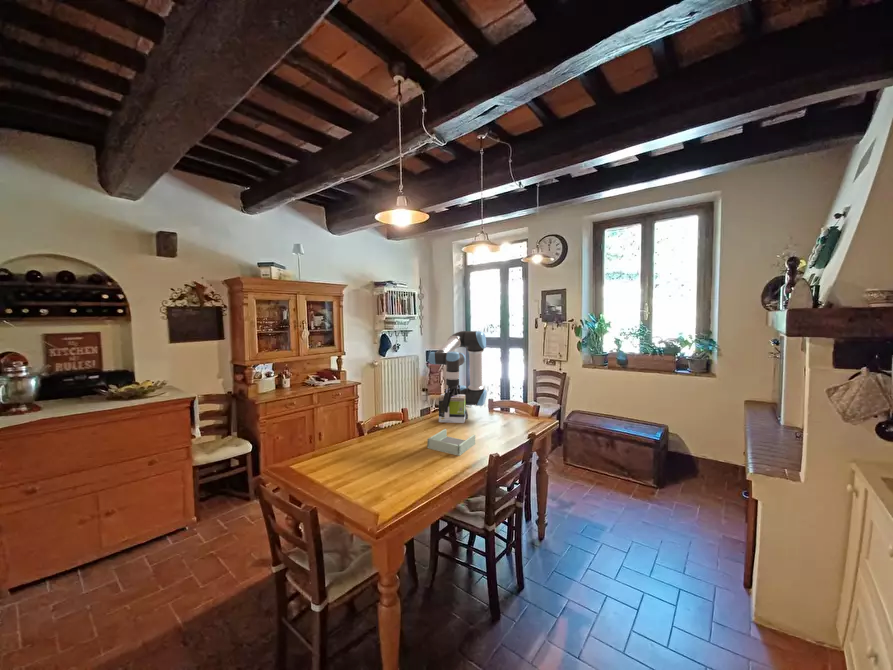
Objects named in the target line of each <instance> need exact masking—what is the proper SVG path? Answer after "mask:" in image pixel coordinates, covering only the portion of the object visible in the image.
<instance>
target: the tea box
mask: <svg viewBox="0 0 893 670" xmlns="http://www.w3.org/2000/svg"><path fill="white" fill-rule="evenodd" d="M444 394H445V393H441V394H440V395H439V396H438V423H453V424H454V423H455V424H465V421H466V419H465V413H466V410H467V409H466V410H465V394H458V395H453V396H452V397H451V399H450V403H449V418H445V407H444V406H442V404H443V399H444Z"/></svg>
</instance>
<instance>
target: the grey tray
mask: <svg viewBox="0 0 893 670" xmlns="http://www.w3.org/2000/svg"><path fill="white" fill-rule="evenodd" d="M447 432H448V429H446V428H444V429H442V430H441V431H439V432H437V433H436V434H434V435H432V436H430V437H428V438H427V449H430V450H433V451H438V452H440V453H441V452H442V453H445V454H449V455H453V456H458V457H460V456H461V455H463V454H464V453H465V452H467V451H468V450H470V449H471V448H472V447H474V446H475V444H476V434H472V435H471V436H470V437H468V438H467V439H466V440H464V439H461V438H455V437H452V436H447V435H448V434H447Z"/></svg>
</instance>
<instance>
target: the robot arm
mask: <svg viewBox="0 0 893 670" xmlns="http://www.w3.org/2000/svg"><path fill="white" fill-rule="evenodd" d="M486 347H487V338H486V335H485V333H484V332H483V331H478V330H473V331H471V330H470V331H469V330H460V331H457V332H455V333H453V334H451V336H449V337H448V338H447V341H446V342H444V344H443V345H442V346H441V347H440V348H438V350H437V351H431V352H429V354H428V363H429V364H431V365H438V366H439V365H441V366H446V372H445V375H446V377H445V381H446V382H445V385H446V386H447V388H445V389H444V393H443V394H444V399H443V404H442V406H444V407H445V418H449V403H450V399H451V397H452V396H453V395H458V394H465V410H466V413H465V420H468V418H469V413H468V409H467V405H470V406H476V407H478V406H479V407H483V406H484V405H485V403H486V401H487V393H488V391H487V390H486V389H485V386H484V385H483V373H482V372H483V366H482V365H483V363H482V358H483V356H482V353H483V352H484V349H486ZM459 348H466V351H467V352H468V353H469V356H468V357H469V385H468V386H466V385H464V384H463V385H462V384H461V385H460V366H462V365H463V364H464V363H465V362H466V361H467V359H466V355H465V354H464V353H463V352H458V351H455V350H456V349H459Z"/></svg>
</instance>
